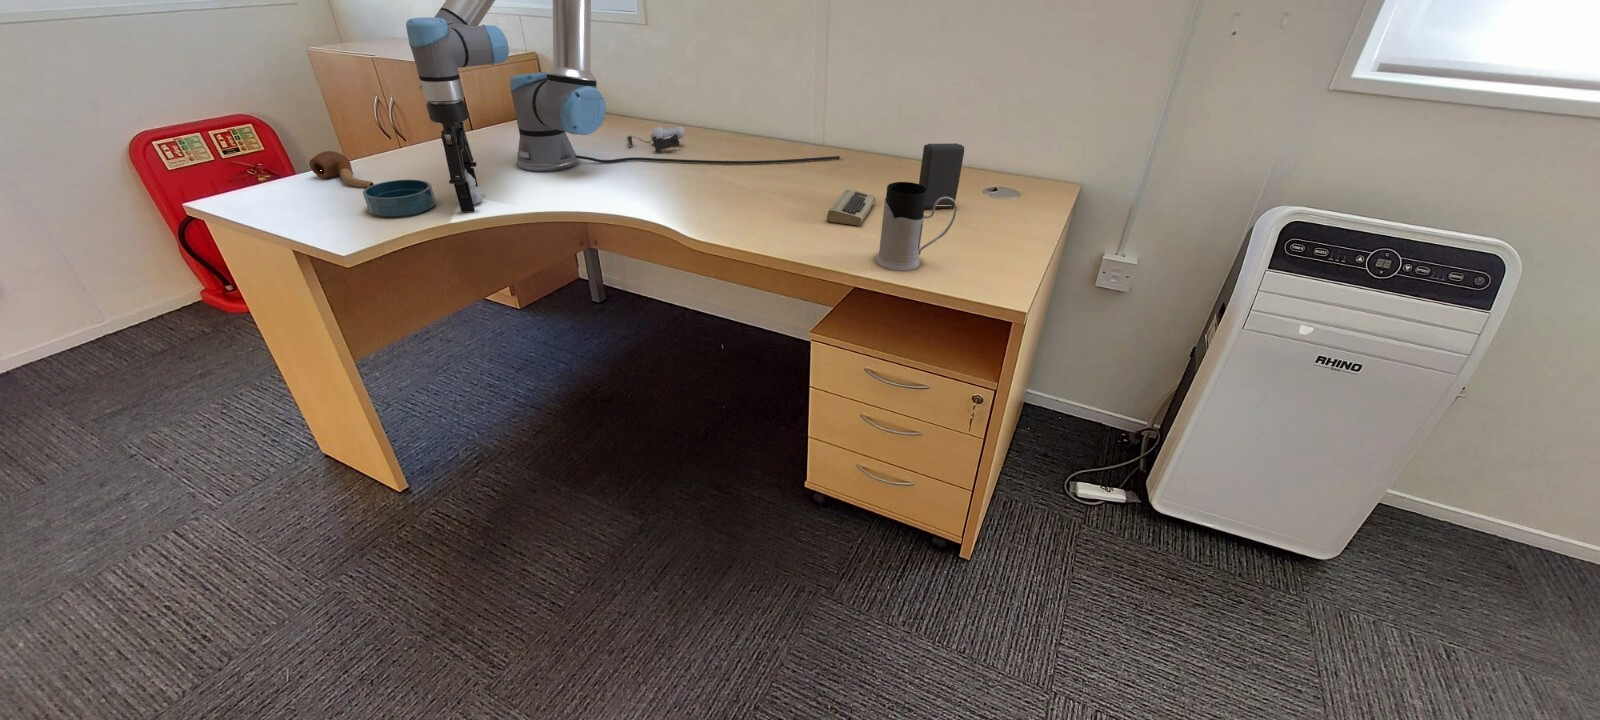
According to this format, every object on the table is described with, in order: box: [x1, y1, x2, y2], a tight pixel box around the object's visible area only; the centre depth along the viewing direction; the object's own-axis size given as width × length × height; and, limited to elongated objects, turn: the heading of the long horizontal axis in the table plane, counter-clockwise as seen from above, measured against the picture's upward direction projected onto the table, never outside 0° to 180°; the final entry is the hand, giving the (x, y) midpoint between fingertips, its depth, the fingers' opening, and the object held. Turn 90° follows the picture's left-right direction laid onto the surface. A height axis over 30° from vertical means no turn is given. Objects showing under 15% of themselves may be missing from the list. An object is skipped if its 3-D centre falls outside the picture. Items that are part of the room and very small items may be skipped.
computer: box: [826, 189, 876, 227], centre depth 150 cm, size 16×8×3 cm, turn 163°
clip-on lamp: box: [626, 126, 686, 154], centre depth 192 cm, size 12×6×18 cm
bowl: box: [362, 178, 437, 218], centre depth 143 cm, size 13×13×4 cm
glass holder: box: [875, 181, 958, 272], centre depth 125 cm, size 9×14×15 cm, turn 85°
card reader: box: [918, 142, 965, 210], centre depth 153 cm, size 9×4×15 cm, turn 100°
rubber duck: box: [465, 169, 484, 205], centre depth 145 cm, size 5×7×8 cm
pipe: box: [308, 150, 375, 188], centre depth 157 cm, size 7×19×6 cm, turn 65°
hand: (471, 203), depth 147 cm, fingers open, 10 cm apart
